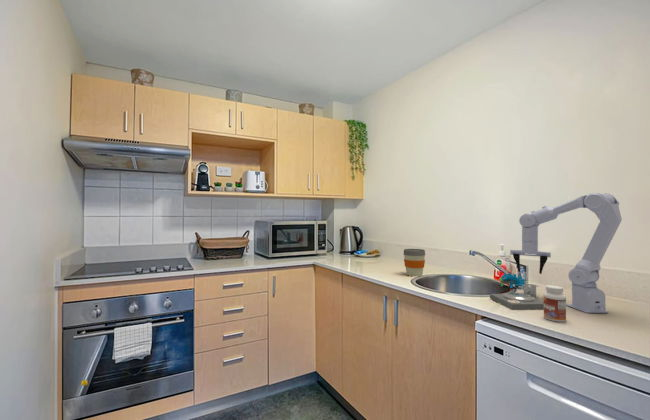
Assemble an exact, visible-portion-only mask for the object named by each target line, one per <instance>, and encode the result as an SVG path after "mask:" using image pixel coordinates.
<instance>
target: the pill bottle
mask: <svg viewBox="0 0 650 420" xmlns="http://www.w3.org/2000/svg"><path fill="white" fill-rule="evenodd" d="M545 290H546V291H545V292H544V293H543V302H544V309H543V317H544V319H546V320H548V321H552V322H558V323H563V322H566V321H567V305H566V304H567V296H566V295H565V294H564V287H562V286H557V285H551V284H550V285H549V284H547V285H545Z"/></svg>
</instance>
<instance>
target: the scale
mask: <svg viewBox="0 0 650 420" xmlns="http://www.w3.org/2000/svg"><path fill="white" fill-rule="evenodd" d="M489 299H491V300H492V301H495V302H497V303H498V304H499V305H502V306H504V307H506V308H508V309H510V310H517V311H520V310H522V311H523V310H544V300H543V301H542V300H540V299H537V298H535V297H533V296H531V295H527V294H524V293H519V292H505V293H490V294H489Z"/></svg>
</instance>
